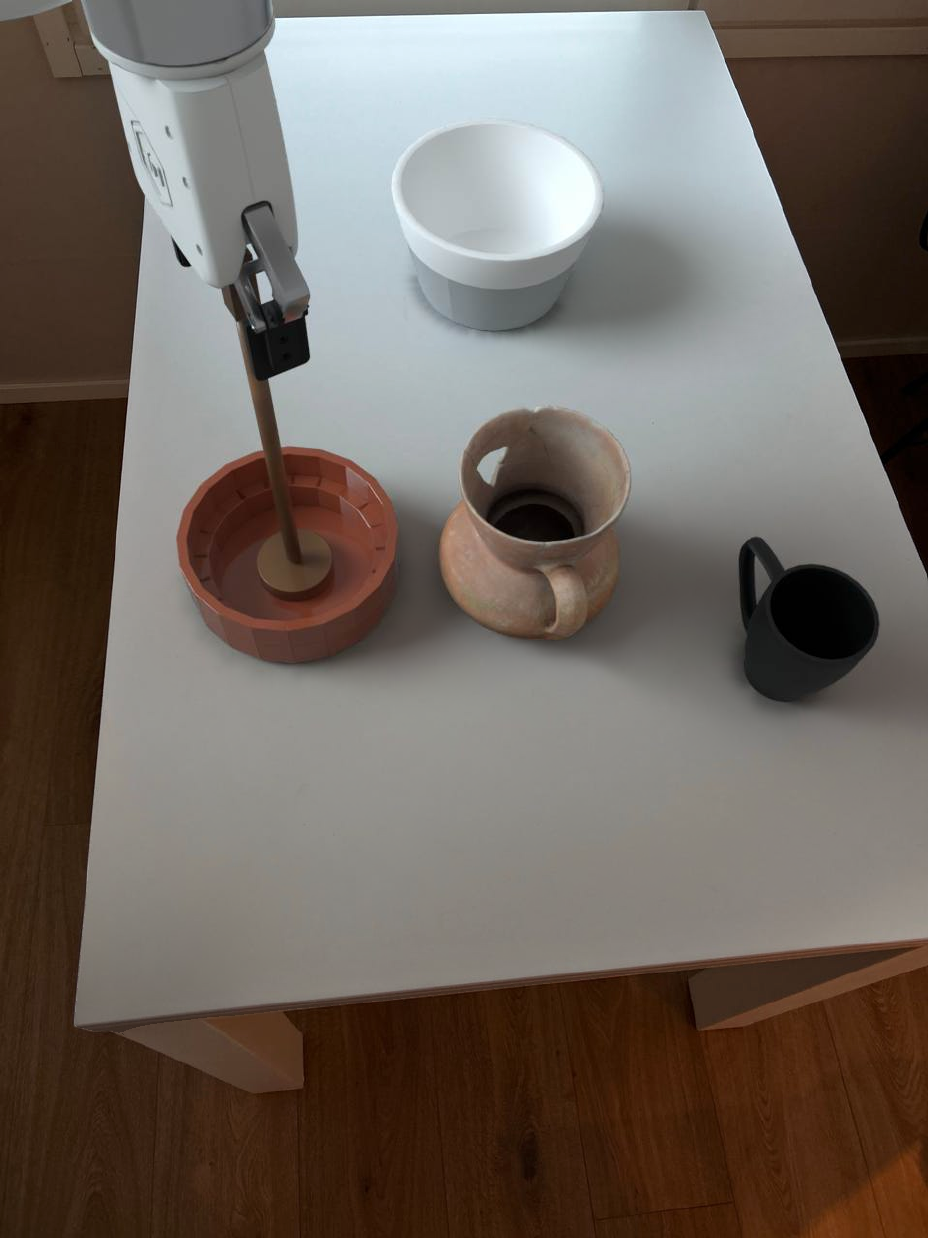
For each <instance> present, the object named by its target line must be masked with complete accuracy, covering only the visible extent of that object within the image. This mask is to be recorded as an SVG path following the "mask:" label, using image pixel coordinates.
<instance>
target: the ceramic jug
mask: <svg viewBox="0 0 928 1238" xmlns="http://www.w3.org/2000/svg"><path fill="white" fill-rule="evenodd" d="M503 448H505V450H504V451H503V453H502V454H501V455H500V457H499V458H498V460H497V463H496V465H495V468H494V471H493V473H492V475H491V478H490V479H491V480H490V481H489V483H488V482H487V481H485V480H484V478H483V476H482V475H481V472H479V470H478V467H479V465H480V464H481V462H482V460H483V459H484V458H485V457H487V455H488V454H490V453H493V452H494V451H498V450H501V449H503ZM629 460H630V459H629V457H628V455H627V454H626V452H625V449H624V447H623V446H622V444H621V442H619V440H618V439H617V438H616V437H615V436H614V434H613V432H611V431H610V430H609V429H607V427H605V426H604V425H603V424H601V423H599V422H598V421H597V420H595V419H594V418H592V417H590V416H588V415H587V414H584V413H583V412H579V411H577V410H574V409H570V408H567V407H562V406H556V405H541V404H540V405H538V406H536V407H535V408H533V409H530V408H529V409H528V408H527V407H524V406H519V407H514V408H511V409H507V410H505V411H502V412H500V413H498V414H497V415H494V416H492V417H490V418H489V419H488V420H486V421H485V422H483V423H482V424H481V425H480V426H479V427H478V428H477V429H475V431H474V433H473V434H471V436H470V438H469V439H468V441H467V443H466V444H465V446H464V449H463V451H462V453H461V456H460V461H459V466H458V483H459V490H460V494H461V495H460V496H461V498H462V499H461V501H460V503H458V505H456V507H455V508H454V509H453V510H452V512H451V513H450V515H449V517H448V518H447V520H446V522H445V524H444V526H443V529H442V531H441V534H440V538H439V545H438V562H439V563H438V564H439V570H440V575H441V577H442V580H443V583H444V585H445V587H446V589H447V592H448V593H449V595H450V596H451V598H452V600H453V601H454V602H455V603H456V605H457V606H458V607H459V608H460V609H461V610H462V612H463V613H465V614H466V615H467V616H468V617H469V618H470V619H472V620H473V621H474V622H476V623H477V624H478V625H480V626H482V627H484V628H485V629H487V630H490V631H491V632H494V633H496V634H499V635H502V636H505V637H509V638H513V639H519V640H520V639H521V640H529V641H546V640H551V641H561V640H563V639H564V638H567V637H570V636H572V635H573V634H575V633H576V632H577V631H578V630H579V629H581V628H582V627H583V626H586V624H588V623H589V622H591V621H592V620H593V619H594V618H595V617H597V615H598V614H600V612H601V611H603V610H604V608H605V607H606V605H607V604H608V602H609V601H610V600H611V598H612V596H613V594H614V592H615V589H616V586H617V584H618V580H619V576H620V570H621V569H620V568H621V553H620V547H619V543H618V539H617V536H616V533H615V531H614V529H613V528H614V527H615V525H616V524H617V522H619V520H620V517H621V516H622V515H623V513H624V510H625V509H626V507H627V504H628V502H629V498H630V494H631V489H632V468H631V464H630V461H629Z"/></svg>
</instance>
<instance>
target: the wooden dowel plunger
mask: <svg viewBox="0 0 928 1238" xmlns="http://www.w3.org/2000/svg"><path fill="white" fill-rule="evenodd" d="M251 260H254V256H253V253H252V252H251V250H250V249H249V248H248V246H246V250H245V255H244V259H243V263H246V262H249V261H251ZM243 263H242V264H243ZM248 278H249V281H250V283H251V286H252V288H253V291H254V293H255V296H256V298H257V301H258V303H259V305H261V304H262V300H261V295H260V290H259V289H260V288H259V283H258V279H257V274H255V275H252V276H250V277H248ZM220 291H221V296H222V298H223V303H224V306H226V308H227V310H228V311H229V313H230V314H231V316H232V317H233V319H234V322H235V327H236V332H237V336H238V339H239V340H238V341H239V346H240V350H241V354H242V358H243V359H242V360H243V363H244V369H245V373H246V378H247V382H248V387H249V391H250V395H251V401H252V405H253V410H254V414H255V418H256V419H255V420H256V423H257V428H258V432H259V433H258V434H259V437H260V441H261V446H262V450H263V451H264V456H265V461H266V465H267V470H268V474H269V479H270V484H271V488H272V493H273V497H274V502H275V507H276V511H277V516H278V521H279V525H280V530H281V531H280V532H278V533H276V534H274V535H273V536H271V537H270V538H269V539H267V540H266V541H265V543H264V544H263V545H262V547H261V548H260V550H259V553H258V556H257V569H258V572H259V576H260V579H261V582H262V584H263V586H264V587H265V589H266V590H267V591H268V592H269V593H271V594H272V595H273V596H275V597H277V598H279V599H282V600H286V601H304V600H308V599H310V598H313V597H315V596H317V595H318V594H320V593H321V592H322V591H323V590H324V589H325V588H326V587H327V586H328V585H329V583H330V581H331V579H332V577H333V573H334V563H333V556H332V551H331V548H330V546H329V544H328V543H327V542H326V541H325V539H324V538H322V537H321V536H320V535H318V534H317V533H315V532H313V531H310V530H306V529H299V528H296V523H295V517H294V512H293V507H292V502H291V496H290V491H289V486H288V481H287V475H286V470H285V465H284V460H283V454H282V449H281V447H282V443H281V439H280V434H279V433H280V432H279V428H278V423H277V418H276V413H275V407H274V402H273V397H272V392H271V385H270V381H269V379H266V380H264V381H258V380H257V379H256V378H255V376H254V375H253V373H252V370H251V365H250V360H249V356H248V351H247V346H246V341H245V336H244V332H243V327H242V322H241V321H243V320H245V319H246V318H247V315H246V313H245V310H244V308H243V305H242V303H241V300H240V298H239V295H238V293H237V290H236V288H235V285H234V284H230V285H227V286H224V288H221V289H220Z"/></svg>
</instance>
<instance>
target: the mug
mask: <svg viewBox="0 0 928 1238" xmlns="http://www.w3.org/2000/svg"><path fill="white" fill-rule="evenodd" d="M756 558H757V560H758V561H759V562H760V564H761V566H762V568H763V569H764V571H765V573H766V575H767V576H768V578H769V580H770V583H769V584H768V586H767V588H766V589H765V590H764V592H763V593H762V595H761V596H760V598H759V601H758V602H757V593H756V591H757V590H756ZM738 586H739V588H738V590H739V605H740V614H741V621H742V625H743V628H744V631H745V634H746V636H745V641H744V651H743V652H744V653H743V654H744V658H743V671H744V672H743V673H744V674H745V677H746V679H747V681H748V683H749V684H750V686H751V687H752V688H753V689H754V690H755V691H756V692H757V693H759V694H760V695H761V696H763V697H765V698H767V699H770V700H772V701H776V702H784V703H786V702H793V701H796V700H799V699H801V698H803V697H807V696H810V695H813V694H815V693H818V692H821V691H823V690H825V689H827V688H828V687H830V686H832V685H834V684H835V683H837V682H838V681H840V680H841V679H843V678H844V677H846V676H847V675H848V674H850V672H852V671H853V669H854V668H855V667H856V666H857V665H858V664H859V663H860V662H861V661H863V659H864V658H865V657H866V656H867V655H868V654H869V652H870V651H871V650H872V649H873V648H874V646H875V644H876V642H877V640H878V637H879V631H880V617H879V611H878V609H877V606H876V603H875V601H874V599H873V598H872V596H871V595H870V594H869V592H868V591H867V590H866V588H865V587H864V586H863V585H862V584H861V583H860V582H859V581H857V580H856V579H855V578H853V577H852V576H851V575H849V574H848V573H846V572H843V571H841V570H839V569H837V568H836V567H831V566H828V565H825V564H818V563H816V564H815V563H805V564H798V565H794V566H792V567H789V568H787V569H785V567H784V566H783V564H782V562H781V560H780V559H779V558H778V556H777V554H776V553H775V551H774V550H773V549H772V547H771V546H770V544H768V543H767V542H766V540H765V539H764V538H762V537H759V536H753V537H750V538H748V539H746V541H745V542H744V543H743V544H742V545H741V546H740V548H739V553H738Z"/></svg>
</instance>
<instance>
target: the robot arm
mask: <svg viewBox="0 0 928 1238" xmlns="http://www.w3.org/2000/svg"><path fill="white" fill-rule="evenodd" d="M72 1H74V0H0V22H6V21H12V20H17V19H22V18H26V17H31V16H36V15H39V14H42V13H45V12H48V11H50V10H52V9H55V8H58V7H61V6H64V5H67V4H68V3H71V2H72ZM80 2H81V5H82V9H83V13H84V16H85V20H86V23H87V26H88V30H89V32H90V36H91V39H92V42H93V45H94V47H95V48H96V50H97V51H98V53H99V54H100V55H101V56H102V57H103V58H104V59H106V60H107V61H108V67H109V72H110V75H111V80H112V84H113V88H114V93H115V97H116V102H117V105H118V110H119V114H120V118H121V122H122V127H123V131H124V135H125V139H126V143H127V147H128V151H129V152H128V153H129V156H130V160H131V163H132V167H133V171H134V174H135V177H136V180H137V182H138V185H139V187H140V188H141V191H142V192H143V194H144V196H145V198H146V200H147V201H148V202H149V203H150V206H151V207H152V209H153V211H154V212H155V213H156V215H157V217H158V218H159V220H160V221H161V223H162V224H163V226H164V227H165V229H166V230H167V232H168V233H169V235H170V238H171V243H172V247H173V250H174V253H175V257H176V260H177V261H178V263H179V265H181V267H183V268H191V267H192V269H193V270H194V271H195V272H196V274H197V276H198V277H199V278H200V279H201V280H202V281H203V282H204V283H206V284H207V285H208V286H210V287H211V288H214V289H217V290H221V288H224V286H227V285H230V284H234V285H235V288H236V290H237V293H238V295H239V298H240V300H241V303H242V305H243V308H244V310H245V313H246V315H247V318H246V319H245V320H243V321H241V322H242V327H243V332H244V336H245V341H246V346H247V351H248V356H249V360H250V365H251V370H252V373H253V375H254V376H255V378H256V379H257V380H258V381H264V380H266V379H268V380H269V379H271V378H274V377H276V376H278V375H281V374H283V373H286V372H289V371H291V370H293V369H296V368H298V367H301V366H303V365H305V364H307V363H308V362H309V361H310V359H311V351H310V344H309V337H308V336H309V335H308V328H307V321H306V316H308V315H309V308H310V304H309V302H310V299H311V291H310V288H309V285H308V283H307V281H306V279H305V277H304V275H303V273H302V271H301V269H300V267H299V264H298V263H297V261H296V259H295V258H296V256H297V254H298V250H299V228H298V218H297V210H296V201H295V196H294V188H293V181H292V176H291V170H290V164H289V158H288V153H287V147H286V143H285V137H284V133H283V132H284V131H283V128H282V122H281V116H280V113H279V107H278V103H277V102H278V101H277V98H276V95H275V94H276V93H275V89H274V85H273V81H272V76H271V72H270V68H269V67H270V66H269V64H268V59H267V55H266V51H265V49H266V48H267V47H268V46H269V45H270V43H271V41H272V40H273V37H274V34H275V30H276V15H275V8H274V1H273V0H80ZM247 245H251V247H252V249H253V251H254V254H255V255H256V257H257V258H253V260H251V261H249V262H246V263H243V259H244V255H245V250H246V246H247ZM247 247H248V246H247ZM242 263H243V264H242ZM263 272H264V273H265V276H266V277H267V280H268V281H269V284H270V287H271V297H272V299H271V300H269V301H266V302H263V303H261V305H259V303H258V301H257V298H256V296H255V293H254V291H253V288H252V286H251V283H250V281H249V278H248V277H250V276H252V275H255V274H256V275H258V274H260V273H263Z"/></svg>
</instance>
